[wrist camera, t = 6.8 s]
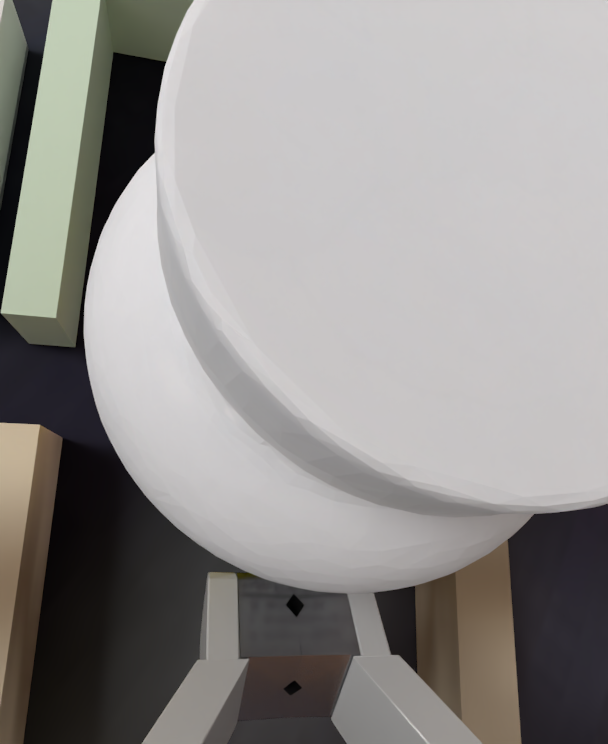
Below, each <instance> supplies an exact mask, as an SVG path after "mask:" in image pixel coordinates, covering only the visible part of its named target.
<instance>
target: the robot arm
mask: <svg viewBox="0 0 608 744" xmlns="http://www.w3.org/2000/svg"><path fill="white" fill-rule="evenodd" d="M284 717H285V718H290V717H332V718H331V720H332V722H333V724H334V725H335V727H336V728H337V730H338V731H339V733H340V734H341V736H342V737H343V739H344V740H345V742H346V743H347V744H483V743H482V742H481V741H480V740H479V739H478V738H477V737H476V736H475V735H474V734H473V733H472V732H471V731H470V730H469V728H468V727H467V726H466V725H465V724H464V723H463V722H462V721H461V720H460V719H459V718H458V717H457V716H456V715H455V714H454V713H453V712H452V710H451V709H450V708H449V707H448V706H447V705H446V704H445V703H444V702H443V701H442V700H441V699H440V698H439V697H438V696H437V695H436V694H435V692H434V691H433V690H432V689H431V688H430V687H429V686H428V685H427V684H426V683H425V682H424V681H423V680H422V679H421V678H420V677H419V676H418V674H417V673H416V672H415V671H414V670H413V669H412V668H411V667H410V666H409V665H408V664H407V663H406V662H405V661H404V660H403V659H402V658H401V656H400V655H391V652H390V648H389V645H388V641H387V638H386V634H385V631H384V627H383V624H382V620H381V616H380V613H379V609H378V606H377V602H376V599H375V595H374V593H362V594H346V593H329V592H317V591H312V590H306V589H301V588H296V587H292V586H287V585H283V584H279V583H276V582H272V581H269V580H266V579H263V578H260V577H258V576H256V575H253V574H251V573H227V572H209V573H208V574H207V582H206V590H205V598H204V606H203V615H202V626H201V638H200V660H197V661H196V663H195V664H194V666H193V667H192V669H191V670H190V672H189V673H188V675H187V676H186V678H185V679H184V681H183V682H182V684H181V685H180V687H179V688H178V690H177V691H176V693H175V694H174V696H173V697H172V699H171V700H170V702H169V703H168V705H167V706H166V708H165V709H164V711H163V712H162V714H161V715H160V717H159V718H158V720H157V721H156V723H155V724H154V726H153V727H152V729H151V730H150V732H149V733H148V735H147V736H146V738H145V739H144V741H143V742H142V744H227V743H228V741H229V739H230V737H231V735H232V733H233V731H234V729H235V727H236V725H237V721H245V720H259V719H272V718H284Z"/></svg>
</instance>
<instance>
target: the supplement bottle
mask: <svg viewBox="0 0 608 744" xmlns="http://www.w3.org/2000/svg"><path fill="white" fill-rule="evenodd" d="M154 143H155V153H154V154H153V155H152V156H151V157H150V158H149V159H148V160H147V161H146V162H145V163H144V165H143V166H142V167H141V168H140V169H139V170H138V171H137V172H136V174H135V175H134V177H133V178H132V180H131V181H130V182H129V184H128V185H127V187H126V188H125V190H124V191H123V193H122V194H121V196H120V197H119V199H118V200H117V202H116V204H115V206H114V208H113V210H112V211H111V213H110V216H109V218H108V220H107V222H106V224H105V226H104V228H103V231H102V233H101V235H100V238H99V241H98V245H97V248H96V251H95V255H94V258H93V261H92V265H91V268H90V273H89V278H88V283H87V289H86V297H85V305H84V343H85V353H86V362H87V367H88V373H89V378H90V383H91V387H92V391H93V396H94V400H95V404H96V407H97V410H98V413H99V416H100V419H101V422H102V424H103V426H104V428H105V431H106V433H107V435H108V437H109V439H110V441H111V443H112V445H113V447H114V449H115V451H116V453H117V454H118V456H119V458H120V460H121V461H122V463H123V465H124V466H125V468H126V470H127V471H128V473H129V474H130V476H131V477H132V478H133V480H134V481H135V482H136V484H137V485H138V486H139V488H140V489H141V490H142V492H143V493H144V494H145V495H146V497H147V498H148V499H149V500H150V501H151V502H152V503H153V505H154V506H155V507H156V508H157V509H158V510H159V511H160V512H161V513H162V514H163V515H164V516H165V517H166V518H167V519H168V520H169V521H170V522H171V523H172V524H173V525H174V526H175V527H176V528H178V529H179V530H180V531H182V532H183V533H184V534H186V535H187V536H188V537H189V538H191V539H192V540H193V541H195V542H196V543H197V544H199V545H200V546H202V547H203V548H205V549H206V550H208V551H209V552H211V553H212V554H214V555H215V556H217V557H219V558H220V559H222V560H224V561H226V562H228V563H230V564H232V565H234V566H236V567H238V568H240V569H242V570H244V571H246V572H249V573H251V574H253V575H256V576H258V577H260V578H263V579H266V580H269V581H272V582H276V583H279V584H283V585H287V586H292V587H296V588H301V589H306V590H312V591H317V592H329V593H346V594H362V593H374V592H381V591H389V590H396V589H401V588H406V587H411V586H415V585H419V584H423V583H426V582H429V581H432V580H435V579H438V578H441V577H444V576H447V575H449V574H452V573H454V572H456V571H458V570H460V569H462V568H464V567H466V566H468V565H469V564H471V563H473V562H475V561H477V560H478V559H480V558H482V557H484V556H486V555H487V554H489V553H491V552H492V551H493V550H494V549H496V548H497V547H498V546H500V545H501V544H502V543H503V542H505V541H506V540H507V539H509V538H510V537H511V536H512V535H514V534H515V533H516V532H517V531H518V530H519V529H520V528H521V527H522V526H523V525H524V524H525V523H526V522H527V521H528V520H529V519H530V518H531V517H532V516H533V514H541V513H556V512H564V511H572V510H579V509H587V508H593V507H598V506H601V505H605V504H608V0H194V1H193V3H192V4H191V6H190V7H189V9H188V10H187V12H186V14H185V17H184V19H183V21H182V23H181V25H180V28H179V30H178V32H177V34H176V37H175V39H174V42H173V45H172V48H171V51H170V53H169V56H168V59H167V62H166V65H165V68H164V73H163V78H162V84H161V89H160V94H159V99H158V105H157V116H156V128H155V139H154Z"/></svg>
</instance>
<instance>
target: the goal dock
mask: <svg viewBox="0 0 608 744" xmlns="http://www.w3.org/2000/svg"><path fill="white" fill-rule="evenodd" d="M193 1H194V0H53V2H52V8H51V14H50V20H49V26H48V32H47V38H46V44H45V50H44V56H43V62H42V68H41V74H40V80H39V86H38V92H37V98H36V104H35V110H34V116H33V122H32V128H31V134H30V140H29V146H28V152H27V158H26V164H25V170H24V176H23V182H22V188H21V194H20V200H19V206H18V212H17V218H16V224H15V230H14V236H13V242H12V248H11V254H10V260H9V266H8V272H7V278H6V284H5V290H4V296H3V302H2V308H1V314H2V315H3V316H4V317H5V318H6V320H7V321H8V322H9V323H10V324H11V325H12V326H13V327H14V328H15V329H16V330H17V331H18V332H19V333H20V335H21V336H22V337H23V338H24V339H25V340H26V341H27V342H28V343H29V344H39V345H52V346H65V347H75V346H76V338H77V331H78V323H79V315H80V307H81V300H82V292H83V284H84V276H85V269H86V261H87V253H88V245H89V238H90V230H91V222H92V214H93V207H94V199H95V191H96V183H97V176H98V168H99V160H100V152H101V145H102V137H103V129H104V121H105V114H106V106H107V98H108V90H109V83H110V75H111V67H112V59H113V52H116V53H121V54H127V55H132V56H137V57H143V58H148V59H154V60H159V61H165V62H167V59H168V56H169V53H170V51H171V48H172V45H173V42H174V39H175V37H176V34H177V32H178V30H179V28H180V25H181V23H182V21H183V19H184V17H185V14H186V12H187V10H188V9H189V7H190V6H191V4H192V3H193Z"/></svg>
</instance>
